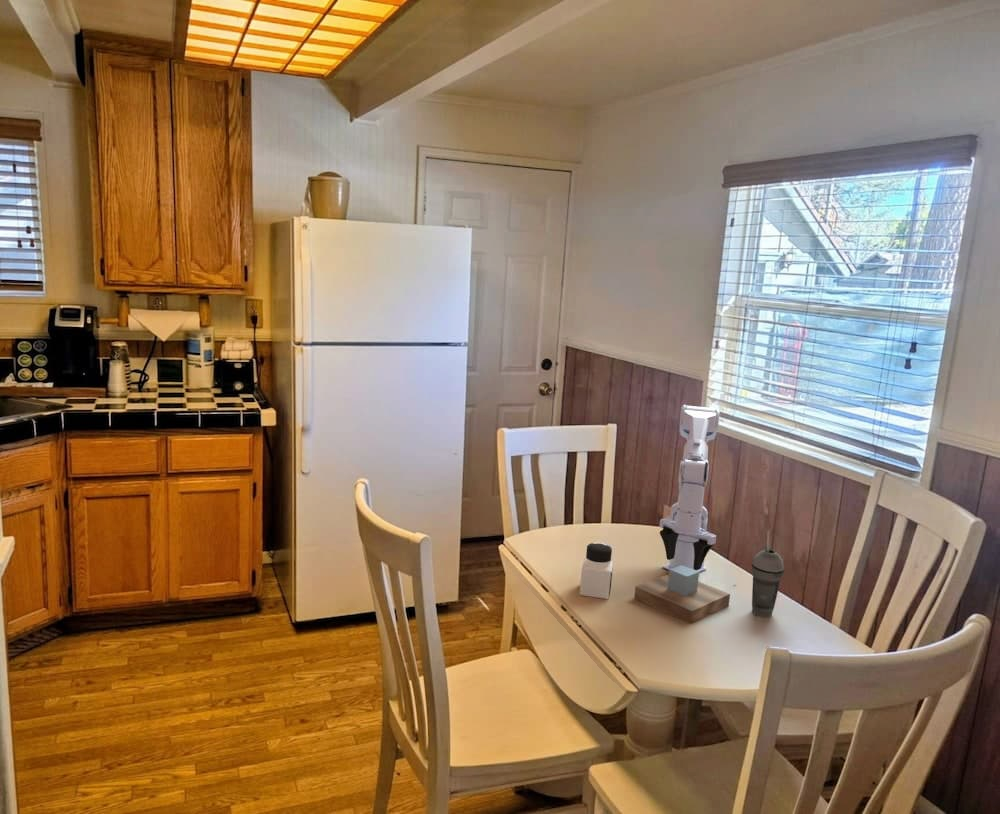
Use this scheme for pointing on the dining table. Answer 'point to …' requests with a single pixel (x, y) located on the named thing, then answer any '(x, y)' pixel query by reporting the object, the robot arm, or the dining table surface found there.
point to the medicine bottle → (597, 571)
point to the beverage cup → (766, 581)
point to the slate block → (683, 580)
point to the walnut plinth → (682, 599)
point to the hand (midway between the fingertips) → (683, 563)
